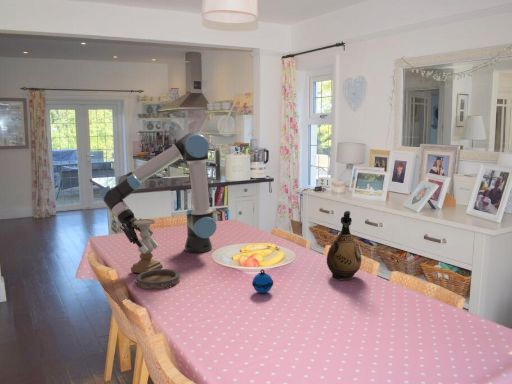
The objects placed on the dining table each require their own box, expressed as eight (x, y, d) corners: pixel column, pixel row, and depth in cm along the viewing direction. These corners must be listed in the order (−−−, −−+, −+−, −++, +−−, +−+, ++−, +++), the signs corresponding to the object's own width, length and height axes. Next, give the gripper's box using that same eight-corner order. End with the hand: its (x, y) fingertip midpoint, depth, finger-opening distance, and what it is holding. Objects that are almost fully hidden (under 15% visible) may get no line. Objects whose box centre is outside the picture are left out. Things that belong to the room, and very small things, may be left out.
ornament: (255, 297, 190) (255, 273, 189) (250, 290, 198) (249, 267, 197) (275, 295, 192) (275, 271, 191) (269, 288, 201) (269, 265, 199)
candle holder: (130, 271, 223) (127, 222, 219) (145, 265, 233) (143, 218, 229) (148, 274, 218) (145, 224, 214) (163, 267, 228) (160, 219, 224)
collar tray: (182, 274, 220) (181, 268, 219) (177, 288, 201) (176, 282, 201) (141, 275, 219) (140, 269, 219) (132, 290, 200) (132, 283, 200)
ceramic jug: (361, 283, 204) (362, 216, 199) (325, 281, 207) (326, 215, 202) (360, 271, 220) (361, 208, 216) (327, 269, 223) (328, 207, 219)
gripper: (133, 214, 237) (160, 248, 233) (104, 222, 220) (133, 259, 215) (141, 204, 234) (168, 239, 229) (112, 212, 217) (141, 250, 212)
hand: (151, 249), depth 222 cm, fingers closed on candle holder, 7 cm apart
